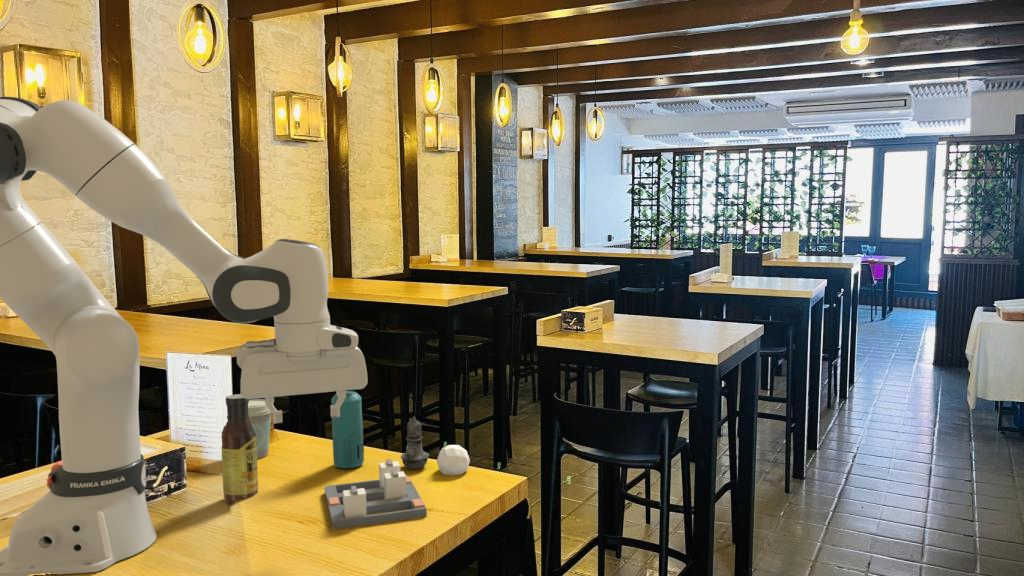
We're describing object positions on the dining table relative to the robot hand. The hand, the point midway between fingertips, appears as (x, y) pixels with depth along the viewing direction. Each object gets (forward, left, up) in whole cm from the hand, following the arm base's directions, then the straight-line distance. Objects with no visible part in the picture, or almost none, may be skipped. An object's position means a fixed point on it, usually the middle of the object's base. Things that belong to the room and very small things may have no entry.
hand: (307, 419), depth 120 cm
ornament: (+29, +18, -20) cm, 40 cm away
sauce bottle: (-12, +20, -20) cm, 30 cm away
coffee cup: (-10, +46, -20) cm, 51 cm away
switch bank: (+11, +6, -20) cm, 23 cm away
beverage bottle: (+9, +29, -20) cm, 36 cm away
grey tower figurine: (+22, +23, -20) cm, 38 cm away
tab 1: (+7, 0, -19) cm, 20 cm away
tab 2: (+15, +12, -19) cm, 27 cm away
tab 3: (+15, +6, -19) cm, 25 cm away
